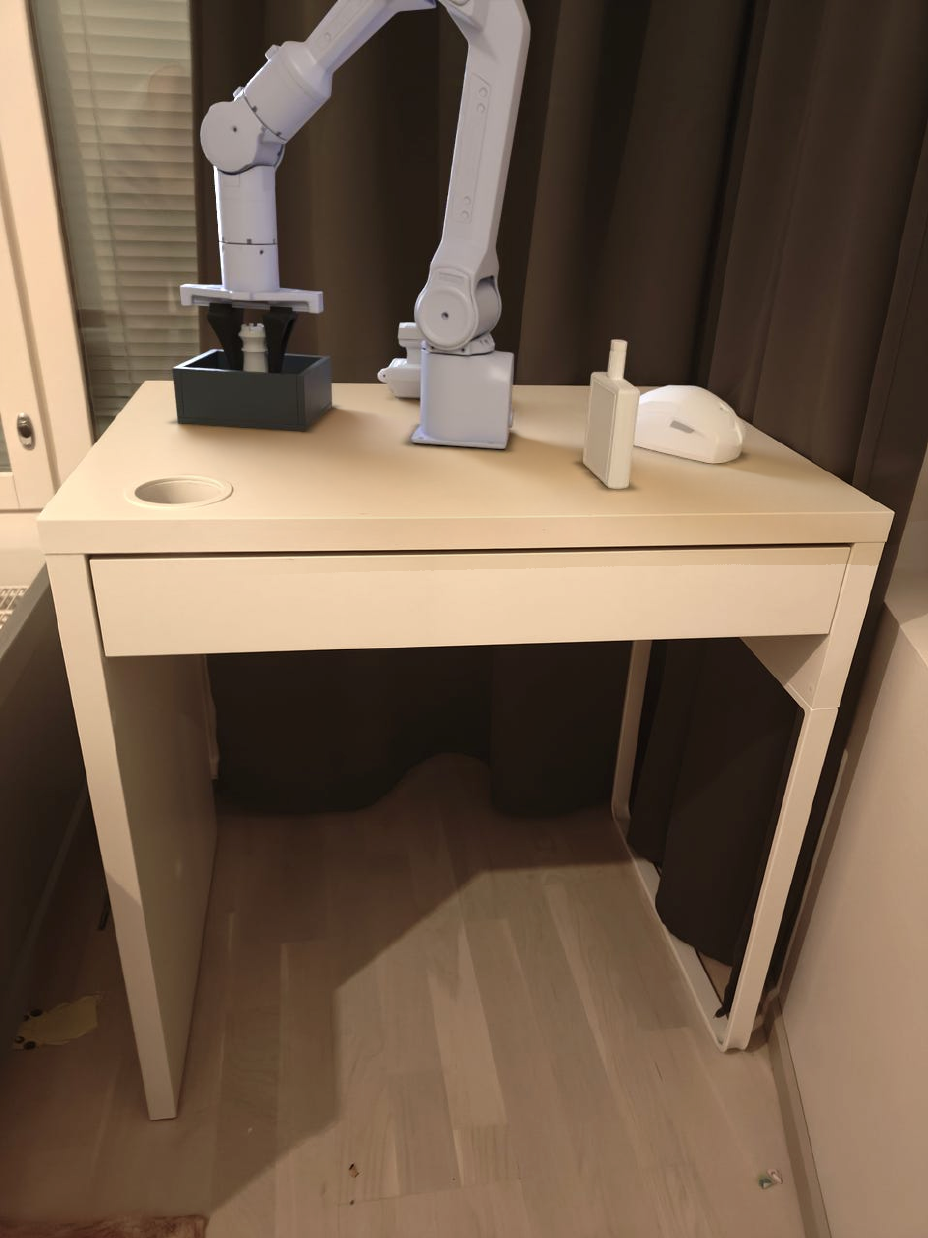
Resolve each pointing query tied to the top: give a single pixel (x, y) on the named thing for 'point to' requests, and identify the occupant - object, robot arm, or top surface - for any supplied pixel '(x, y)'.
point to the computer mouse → (689, 424)
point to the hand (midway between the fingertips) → (256, 379)
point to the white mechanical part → (406, 365)
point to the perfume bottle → (611, 421)
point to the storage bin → (253, 392)
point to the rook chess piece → (254, 348)
